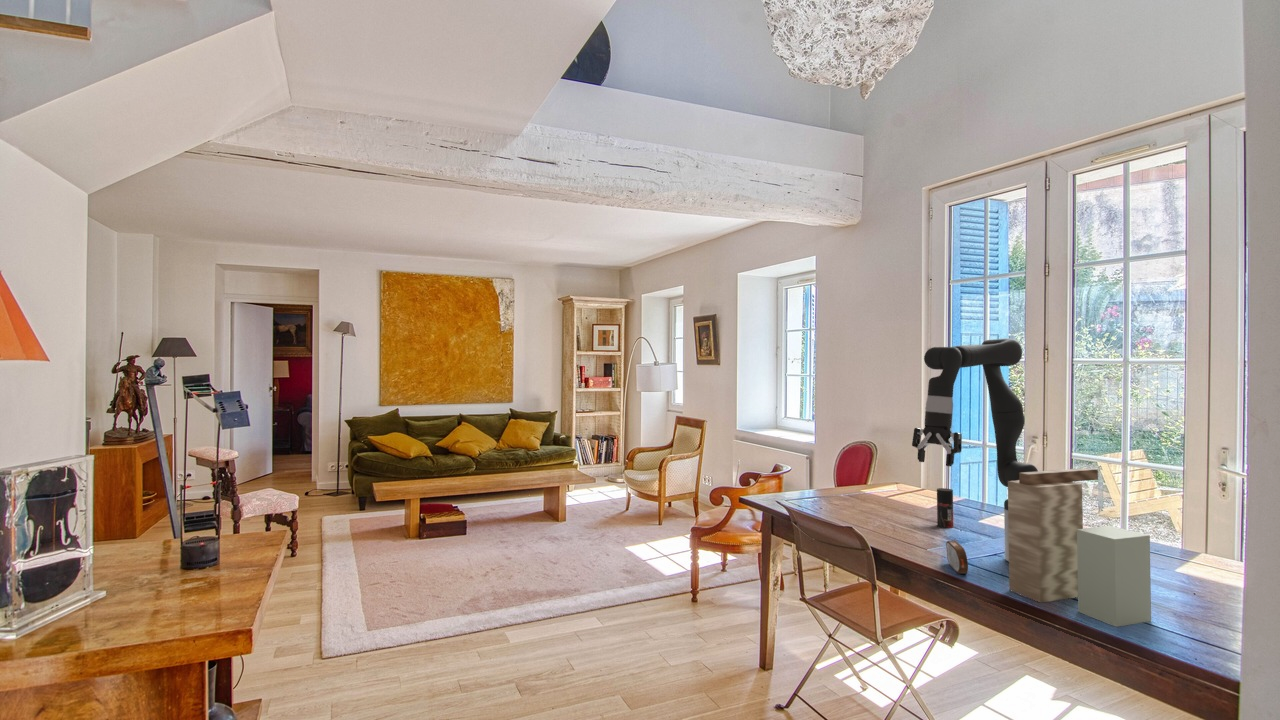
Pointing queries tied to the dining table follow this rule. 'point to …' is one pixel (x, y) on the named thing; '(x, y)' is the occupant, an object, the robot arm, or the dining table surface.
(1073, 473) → the walnut bar
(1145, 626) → the dining table surface
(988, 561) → the dining table surface
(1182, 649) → the dining table surface
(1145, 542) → the green plinth
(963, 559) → the tin
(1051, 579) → the stand
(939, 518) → the deodorant
